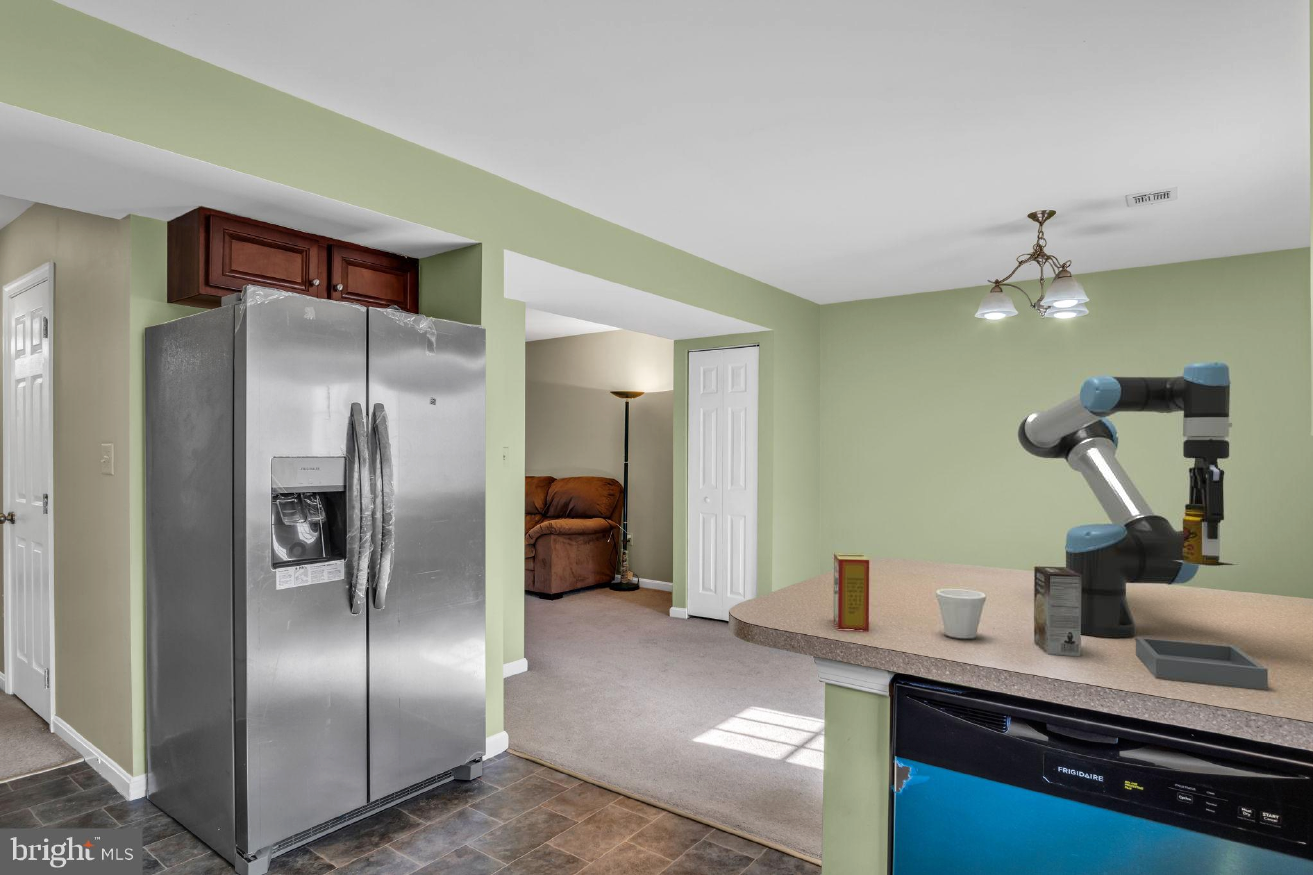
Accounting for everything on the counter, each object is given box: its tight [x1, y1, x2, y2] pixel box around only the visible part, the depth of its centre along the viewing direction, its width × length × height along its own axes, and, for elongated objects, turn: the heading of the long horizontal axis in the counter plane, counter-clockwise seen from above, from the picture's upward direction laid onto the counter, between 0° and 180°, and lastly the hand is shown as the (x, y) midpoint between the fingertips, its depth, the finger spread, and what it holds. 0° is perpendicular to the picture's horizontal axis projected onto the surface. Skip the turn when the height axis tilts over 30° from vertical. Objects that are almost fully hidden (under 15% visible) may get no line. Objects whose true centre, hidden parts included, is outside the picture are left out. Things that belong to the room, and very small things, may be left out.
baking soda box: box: [833, 552, 870, 632], centre depth 168 cm, size 10×6×16 cm
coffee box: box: [1033, 566, 1082, 657], centre depth 150 cm, size 9×6×16 cm
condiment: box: [1174, 503, 1240, 567], centre depth 151 cm, size 7×8×12 cm
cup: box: [935, 588, 987, 641], centre depth 159 cm, size 10×10×9 cm
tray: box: [1135, 636, 1269, 691], centre depth 136 cm, size 16×16×4 cm
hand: (1205, 552), depth 150 cm, fingers closed on condiment, 6 cm apart
